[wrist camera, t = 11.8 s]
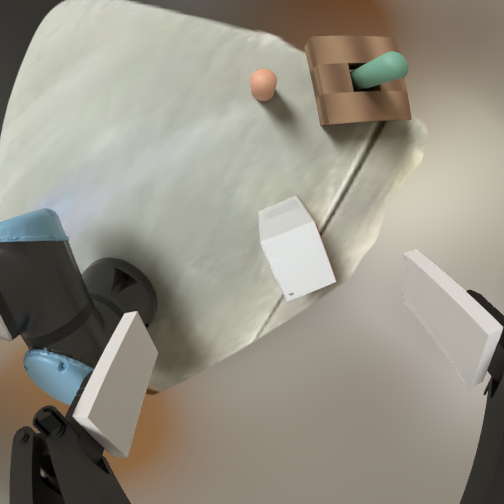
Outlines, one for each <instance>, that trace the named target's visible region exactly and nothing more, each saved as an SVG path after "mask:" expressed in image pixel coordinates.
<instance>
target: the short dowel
mask: <svg viewBox="0 0 504 504" xmlns="http://www.w3.org/2000/svg"><path fill="white" fill-rule="evenodd" d="M250 83H251V89H252V94H253V96H254V98H255V99H257V100H258V101H268V100H270V99H271V98H272V97H273V95H274V91H275V87H276V83H277V79H276V76H275V74H274V73H273V72H272V71H270V70H268V69H259V70H256V71H255V72H254V73H253V74H252V75H251V78H250Z"/></svg>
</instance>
